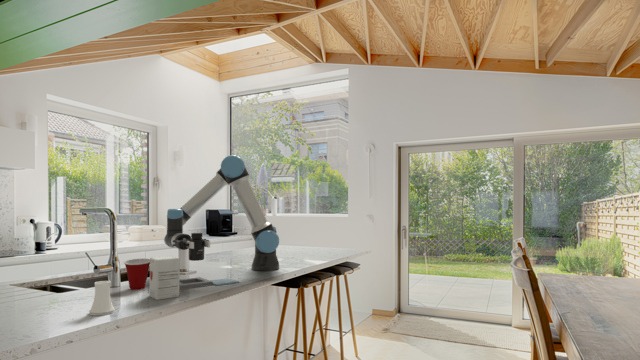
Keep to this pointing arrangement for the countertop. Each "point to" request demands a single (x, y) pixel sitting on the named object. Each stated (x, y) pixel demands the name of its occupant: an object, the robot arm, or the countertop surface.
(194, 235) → the supplement bottle
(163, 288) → the supplement box
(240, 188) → the robot arm
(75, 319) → the countertop surface
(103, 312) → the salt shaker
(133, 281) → the plastic cup
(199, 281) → the grey square tray
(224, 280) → the drip mat
